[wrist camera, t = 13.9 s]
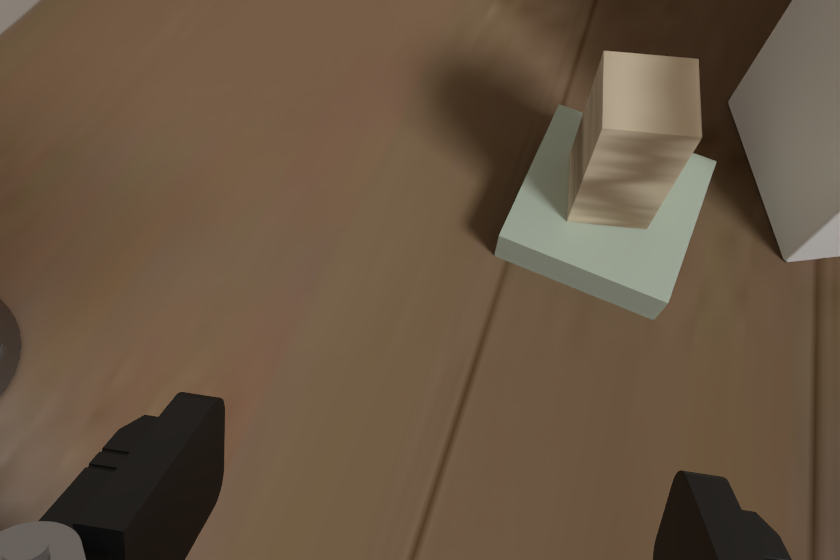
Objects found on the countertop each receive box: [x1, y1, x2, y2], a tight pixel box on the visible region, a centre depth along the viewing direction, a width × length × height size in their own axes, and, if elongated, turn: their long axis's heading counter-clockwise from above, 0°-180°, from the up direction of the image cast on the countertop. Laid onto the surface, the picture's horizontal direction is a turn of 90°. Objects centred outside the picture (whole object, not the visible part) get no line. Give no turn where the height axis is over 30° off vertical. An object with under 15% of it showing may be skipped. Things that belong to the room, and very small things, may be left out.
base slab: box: [494, 104, 717, 320], centre depth 49 cm, size 11×11×4 cm
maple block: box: [567, 51, 702, 229], centre depth 43 cm, size 5×5×10 cm
